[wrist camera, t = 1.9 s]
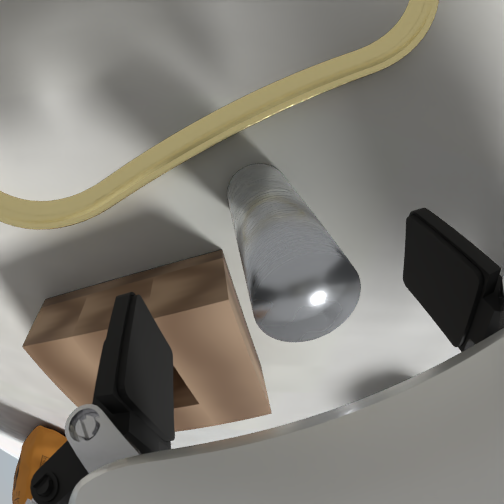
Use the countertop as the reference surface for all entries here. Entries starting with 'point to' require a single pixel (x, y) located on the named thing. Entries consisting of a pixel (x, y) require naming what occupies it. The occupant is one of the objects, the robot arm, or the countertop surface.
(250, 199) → the pin
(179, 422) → the bore block
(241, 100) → the wavy rubber band
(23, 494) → the coffee package
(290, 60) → the countertop surface
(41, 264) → the countertop surface
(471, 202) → the countertop surface
